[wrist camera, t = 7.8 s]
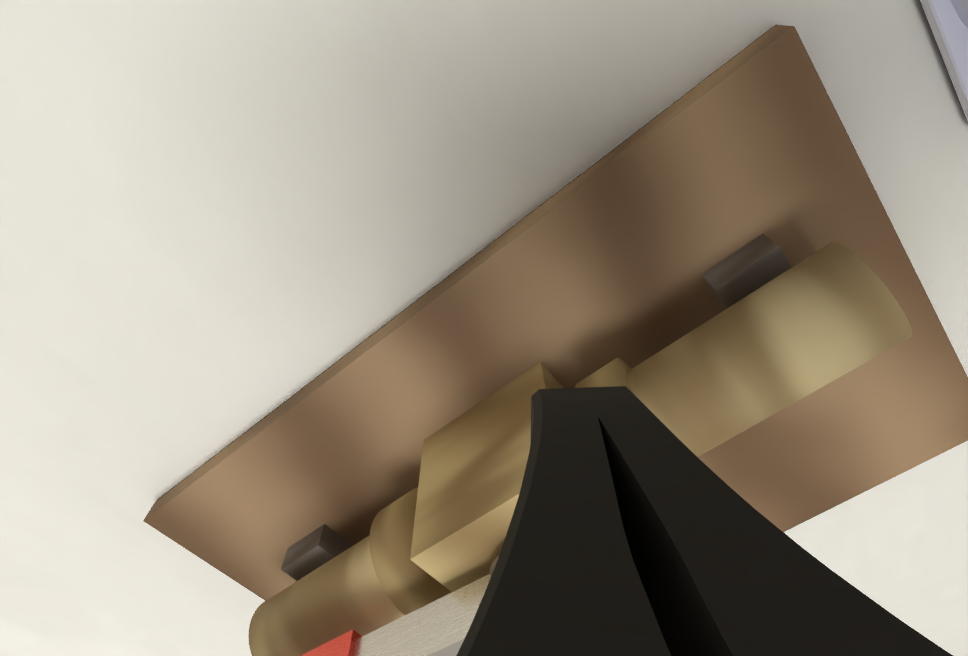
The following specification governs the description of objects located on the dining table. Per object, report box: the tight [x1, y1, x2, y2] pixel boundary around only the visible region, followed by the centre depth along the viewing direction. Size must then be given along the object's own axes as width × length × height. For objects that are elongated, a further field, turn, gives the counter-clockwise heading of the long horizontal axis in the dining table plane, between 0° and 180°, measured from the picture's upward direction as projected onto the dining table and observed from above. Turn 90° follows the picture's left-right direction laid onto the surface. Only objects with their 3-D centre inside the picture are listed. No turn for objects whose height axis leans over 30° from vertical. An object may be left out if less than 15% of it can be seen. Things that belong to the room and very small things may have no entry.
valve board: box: [144, 25, 968, 656], centre depth 20 cm, size 26×16×6 cm, turn 129°
